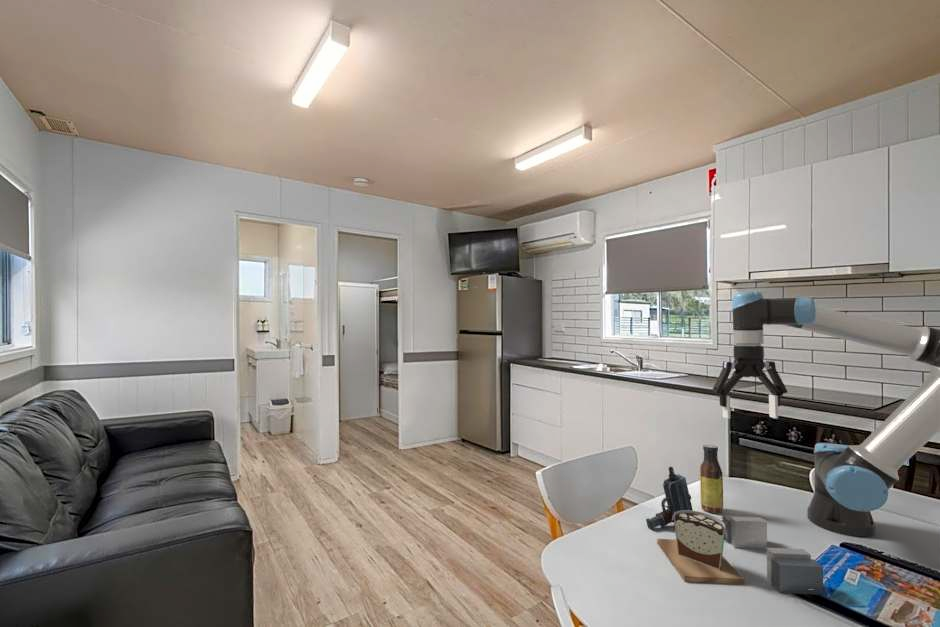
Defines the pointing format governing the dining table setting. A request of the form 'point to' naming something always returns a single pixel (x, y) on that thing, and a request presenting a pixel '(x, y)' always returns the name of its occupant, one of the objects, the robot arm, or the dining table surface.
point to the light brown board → (698, 567)
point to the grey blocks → (776, 557)
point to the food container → (700, 537)
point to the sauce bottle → (711, 481)
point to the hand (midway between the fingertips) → (750, 417)
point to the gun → (672, 500)
